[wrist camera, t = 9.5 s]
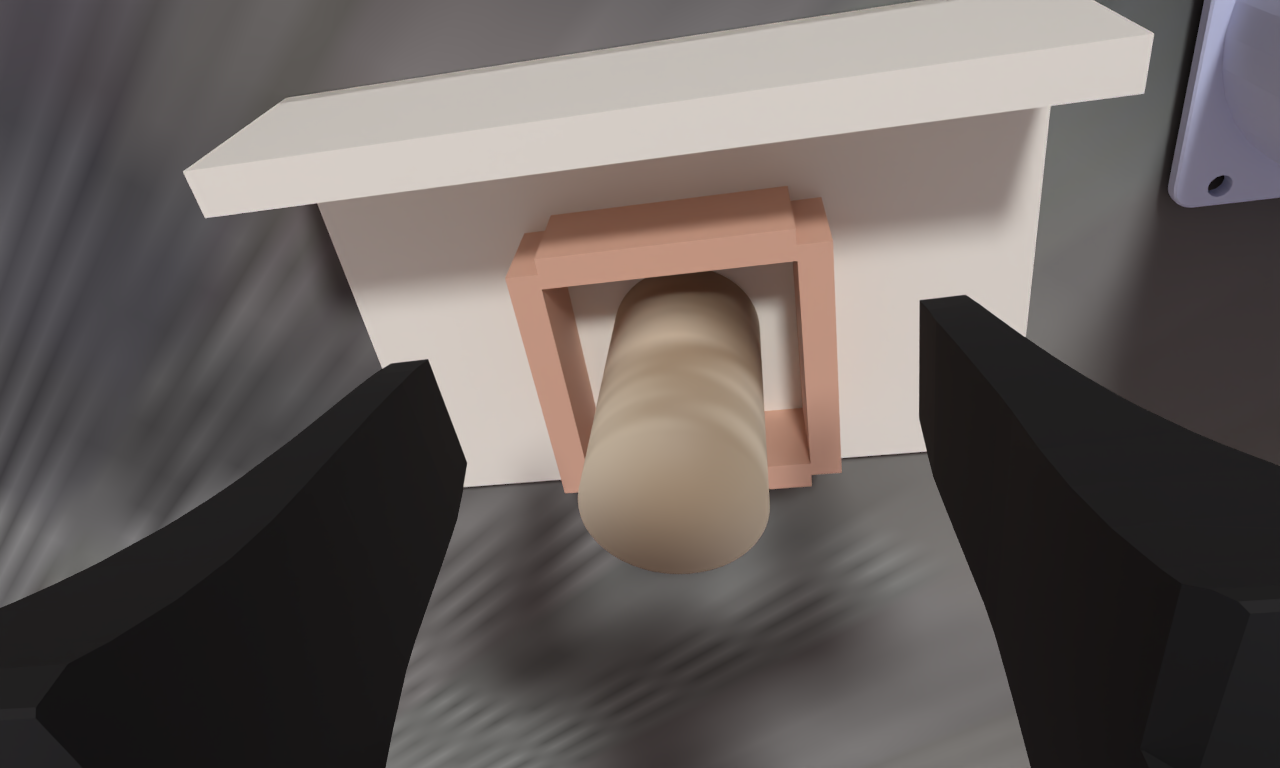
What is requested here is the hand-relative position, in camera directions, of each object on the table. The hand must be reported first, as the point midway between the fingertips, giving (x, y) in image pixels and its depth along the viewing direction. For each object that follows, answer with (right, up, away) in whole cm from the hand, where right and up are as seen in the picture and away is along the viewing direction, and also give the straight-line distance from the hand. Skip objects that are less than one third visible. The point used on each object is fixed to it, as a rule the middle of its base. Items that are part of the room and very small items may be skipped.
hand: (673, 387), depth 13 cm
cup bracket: (+1, +3, +11) cm, 11 cm away
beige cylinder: (+1, +1, +11) cm, 11 cm away
